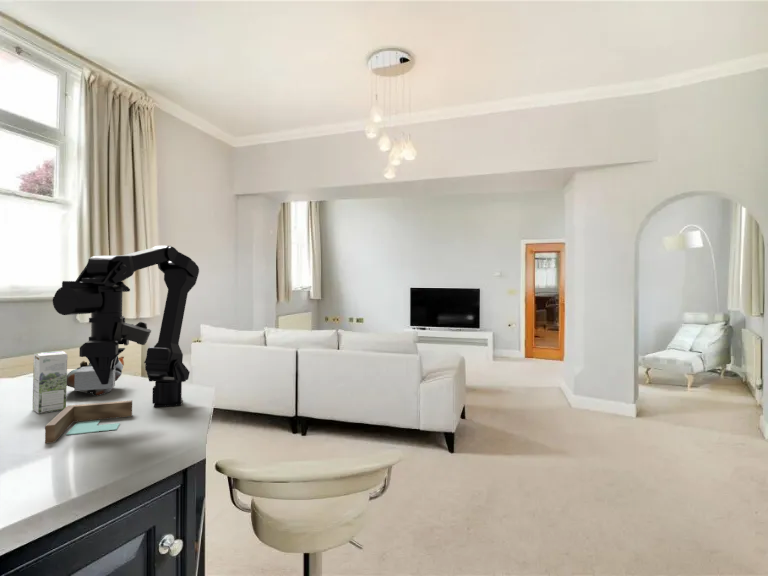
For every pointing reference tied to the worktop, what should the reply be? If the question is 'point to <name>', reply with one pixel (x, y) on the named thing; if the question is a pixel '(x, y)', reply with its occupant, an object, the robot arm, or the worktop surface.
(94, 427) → the mat
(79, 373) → the bracket
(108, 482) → the worktop surface
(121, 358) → the lucky cat figurine
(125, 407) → the corner wall
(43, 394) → the syrup box
